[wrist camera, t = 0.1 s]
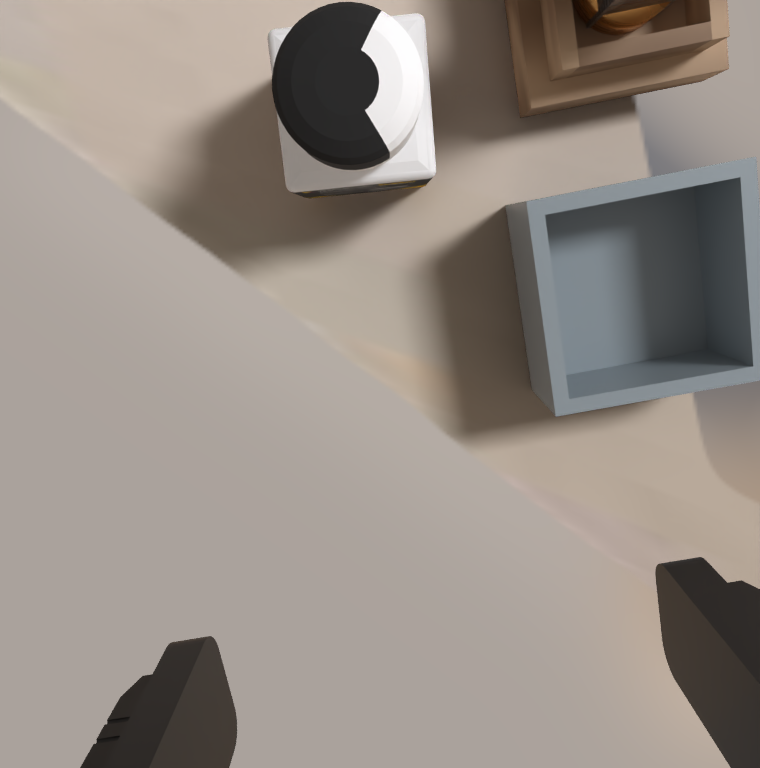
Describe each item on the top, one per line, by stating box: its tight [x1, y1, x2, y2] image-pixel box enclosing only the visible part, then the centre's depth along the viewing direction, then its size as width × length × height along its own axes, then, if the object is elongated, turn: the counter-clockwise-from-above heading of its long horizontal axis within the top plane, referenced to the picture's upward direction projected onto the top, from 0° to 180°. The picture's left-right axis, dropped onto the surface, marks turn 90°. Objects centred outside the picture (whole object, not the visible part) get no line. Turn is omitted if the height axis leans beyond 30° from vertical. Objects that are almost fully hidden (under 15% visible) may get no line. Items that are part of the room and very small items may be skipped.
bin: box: [505, 157, 760, 417], centre depth 37 cm, size 11×11×6 cm
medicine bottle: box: [268, 2, 436, 198], centre depth 32 cm, size 7×7×12 cm
